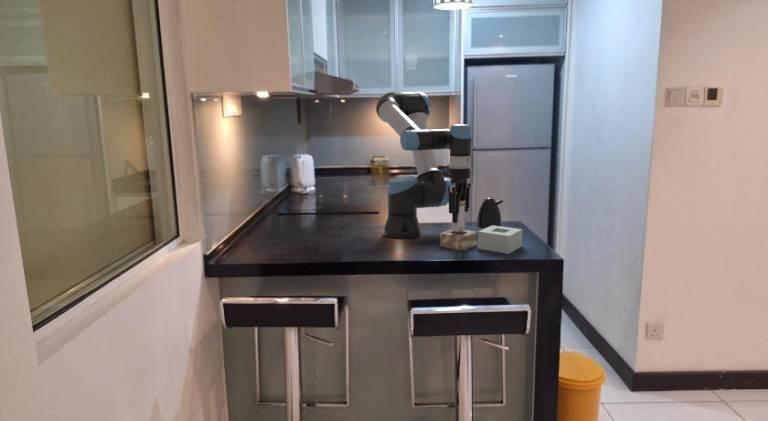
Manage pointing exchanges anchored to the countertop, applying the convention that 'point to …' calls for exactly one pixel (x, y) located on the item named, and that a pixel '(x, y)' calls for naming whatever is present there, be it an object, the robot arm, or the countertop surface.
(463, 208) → the pin
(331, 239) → the countertop surface
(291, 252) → the countertop surface
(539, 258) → the countertop surface
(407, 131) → the robot arm
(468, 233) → the block
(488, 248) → the dock
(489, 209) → the pump dispenser
